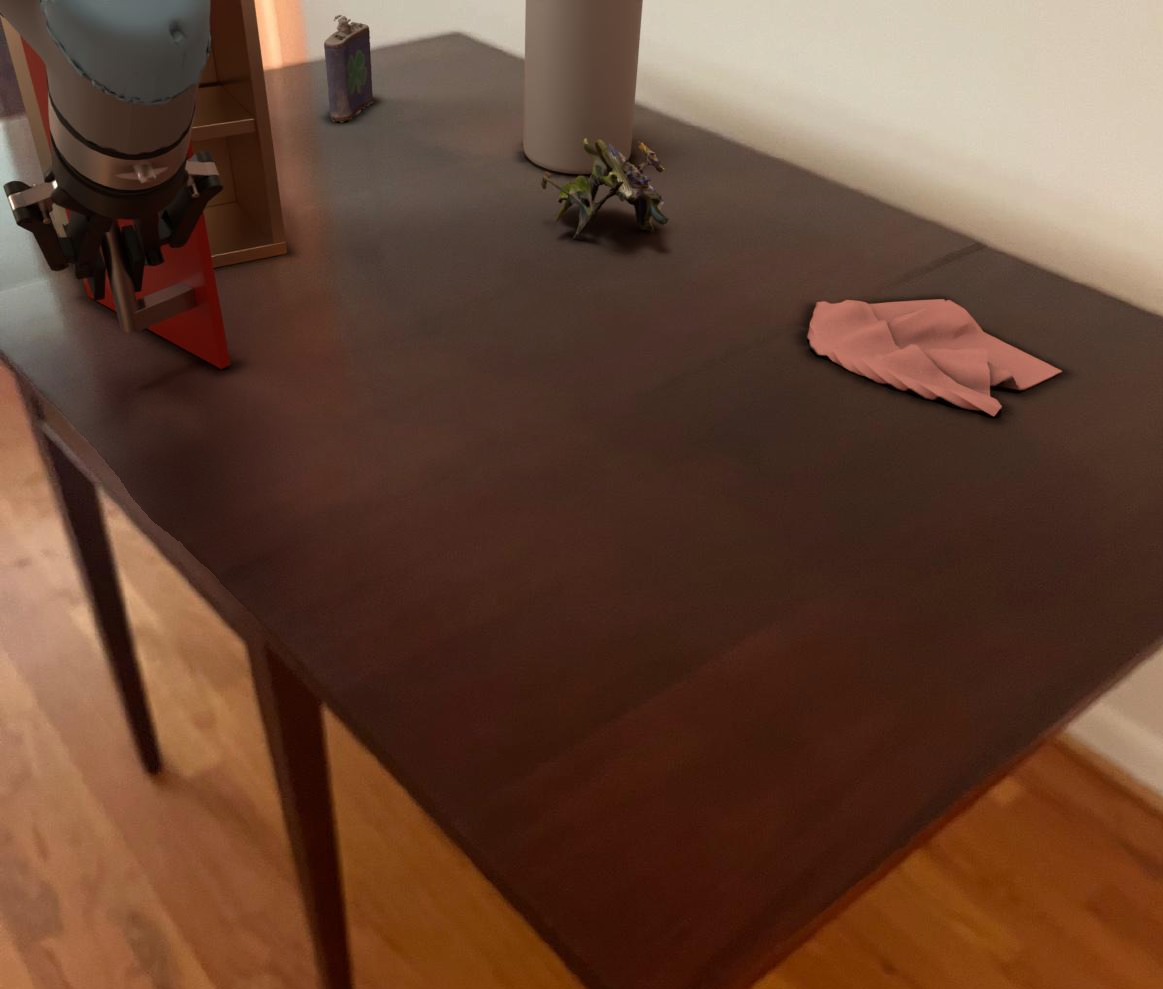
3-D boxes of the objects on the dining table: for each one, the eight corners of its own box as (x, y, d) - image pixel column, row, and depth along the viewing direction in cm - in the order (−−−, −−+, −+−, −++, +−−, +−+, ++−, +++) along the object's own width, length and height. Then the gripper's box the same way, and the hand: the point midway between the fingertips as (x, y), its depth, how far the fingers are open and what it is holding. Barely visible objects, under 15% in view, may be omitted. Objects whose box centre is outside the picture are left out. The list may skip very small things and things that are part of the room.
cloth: (785, 300, 107) (789, 276, 106) (1005, 300, 109) (1013, 277, 108) (841, 419, 92) (847, 394, 90) (1096, 417, 94) (1106, 392, 93)
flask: (345, 124, 136) (336, 28, 128) (323, 120, 136) (313, 25, 129) (378, 100, 142) (371, 8, 135) (356, 97, 143) (349, 5, 136)
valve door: (156, 400, 89) (82, 81, 73) (22, 321, 97) (-71, 18, 81) (230, 364, 93) (176, 57, 77) (97, 292, 101) (23, 0, 85)
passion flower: (636, 277, 121) (699, 211, 111) (551, 280, 115) (610, 210, 105) (603, 186, 123) (661, 113, 113) (518, 184, 117) (572, 107, 107)
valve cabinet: (287, 253, 109) (251, -25, 93) (90, 292, 102) (14, -4, 85) (246, 206, 117) (206, -59, 101) (60, 239, 109) (-16, -42, 93)
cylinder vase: (646, 171, 129) (668, -76, 113) (543, 181, 126) (550, -73, 109) (607, 132, 138) (622, -103, 121) (509, 140, 134) (511, -101, 118)
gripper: (4, 218, 63) (24, 347, 84) (268, 173, 69) (225, 305, 90) (-43, 88, 62) (-10, 251, 84) (226, 56, 69) (193, 215, 90)
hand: (112, 279), depth 87 cm, fingers open, 2 cm apart
